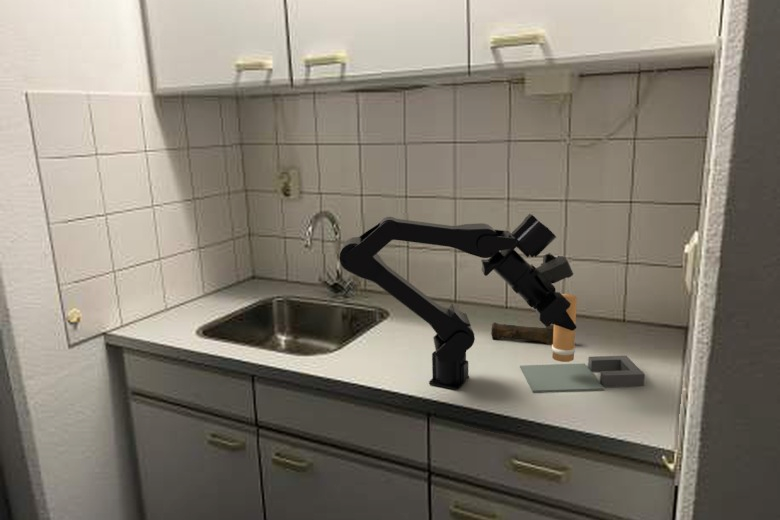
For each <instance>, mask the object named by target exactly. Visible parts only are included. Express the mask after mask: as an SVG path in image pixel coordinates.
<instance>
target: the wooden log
mask: <svg viewBox="0 0 780 520" xmlns="http://www.w3.org/2000/svg"><path fill="white" fill-rule="evenodd" d="M553 330H554V324H551V325H550V326H547V327H546V326H545V327H536V326H524V325H522V326H521V325H514V324H505V323H503V324H502V323H498V322H493V323H492V324H491V333H490V334H491V338H492V340H494V339H498V340H500V339H506V340H507V339H508V340H518V341H519V340H521V341H528V342H529V341H532V342H541V343H545V344H546V345H548V346H552V344H553Z"/></svg>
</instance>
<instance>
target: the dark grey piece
mask: <svg viewBox="0 0 780 520" xmlns="http://www.w3.org/2000/svg"><path fill="white" fill-rule="evenodd" d="M587 360H588V363H587V364H588V365H587V367H588V368H589V369H590V371H591V372H599V373H600V377H599V382H600V383H601V385H602V386H603V387H604V388H614V387H615V388H619V387H645V377H646V376H645V373H644V371H642V370H641V369H640V368H639V367H638V365H636V363H634V362H633V361H632V360H631V358H630V357H628V355H602V356H601V355H600V356H594V355H593V356H588V359H587Z"/></svg>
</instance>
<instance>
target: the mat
mask: <svg viewBox="0 0 780 520" xmlns="http://www.w3.org/2000/svg"><path fill="white" fill-rule="evenodd" d="M519 369H520V371H521V372H522V374H523V376H524V378H525V380H526V382H527V384H528V386H529V388H530V389H531V391H532V393H555V392H557V393H559V392H561V393H562V392H588V391H593V392H594V391H605V387H603V386H602V385H601V383H600V380H599V379H598V378H597V376H595V374H594V373H593V371H590V369H589V368H588V365H587V364H586V363H559V364H557V363H556V364H530V365H529V364H528V365H527V364H526V365H525V364H524V365H519Z"/></svg>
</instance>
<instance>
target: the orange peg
mask: <svg viewBox="0 0 780 520" xmlns="http://www.w3.org/2000/svg"><path fill="white" fill-rule="evenodd" d="M561 294H562V295H563V296H564V297H565V298H566V299H567V300H568V301H569V302H570V303H571V305H570V307H569V308H568V309H567V310H566V311H567V313H568V315H569V316H570V318H571V319H572V321H573V322H574V324H575V325H576V323H577V322H576V319H577V302H578V301H577V300H578V297H577V295H574V294H571V293H561ZM553 325H554V324H553ZM575 340H576V329H575V330H573V331H572V330H569V329H566V328H563V327H560V326H557V325H554V330H553V344H552V345H551V352H552V357H551V359H553V360H555V361H558V362H561V363H562V362H564V363H569V362H572V361H574V360H575V359H574V358H575V352H576V345H575V344H576V343H575Z"/></svg>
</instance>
